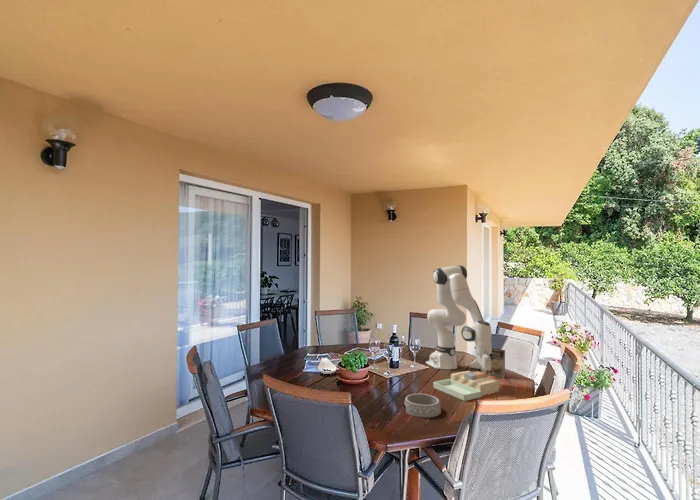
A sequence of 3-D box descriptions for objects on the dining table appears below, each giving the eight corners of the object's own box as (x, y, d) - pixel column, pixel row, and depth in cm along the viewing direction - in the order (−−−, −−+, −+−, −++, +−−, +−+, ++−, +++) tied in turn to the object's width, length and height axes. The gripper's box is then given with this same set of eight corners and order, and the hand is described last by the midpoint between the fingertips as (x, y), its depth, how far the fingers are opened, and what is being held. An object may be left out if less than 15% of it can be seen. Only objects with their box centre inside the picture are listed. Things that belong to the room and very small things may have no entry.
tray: (433, 387, 213) (433, 381, 213) (449, 383, 219) (449, 378, 219) (464, 401, 192) (464, 395, 192) (481, 396, 198) (481, 391, 198)
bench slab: (450, 384, 218) (450, 374, 218) (468, 380, 225) (468, 370, 225) (480, 396, 199) (480, 384, 199) (498, 392, 205) (498, 380, 206)
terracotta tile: (471, 375, 215) (471, 372, 215) (477, 374, 217) (477, 371, 217) (478, 378, 210) (478, 374, 210) (484, 377, 213) (484, 373, 213)
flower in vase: (488, 371, 245) (488, 332, 246) (470, 370, 247) (470, 332, 248) (485, 365, 258) (485, 329, 259) (468, 364, 260) (467, 328, 261)
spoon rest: (338, 376, 234) (338, 364, 234) (319, 377, 231) (319, 365, 231) (330, 365, 257) (330, 355, 257) (313, 367, 254) (313, 356, 254)
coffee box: (488, 375, 235) (488, 350, 235) (490, 373, 240) (489, 348, 241) (503, 378, 230) (503, 351, 231) (505, 375, 236) (505, 349, 236)
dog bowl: (434, 402, 190) (434, 392, 190) (445, 417, 172) (445, 406, 172) (401, 403, 189) (401, 392, 190) (408, 418, 171) (408, 406, 171)
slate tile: (464, 377, 211) (464, 374, 211) (469, 376, 214) (469, 372, 214) (471, 379, 207) (471, 376, 207) (477, 378, 210) (477, 374, 210)
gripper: (493, 354, 205) (494, 379, 205) (485, 346, 226) (485, 369, 225) (482, 353, 206) (482, 379, 206) (474, 345, 227) (474, 368, 226)
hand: (483, 373), depth 216 cm, fingers closed
